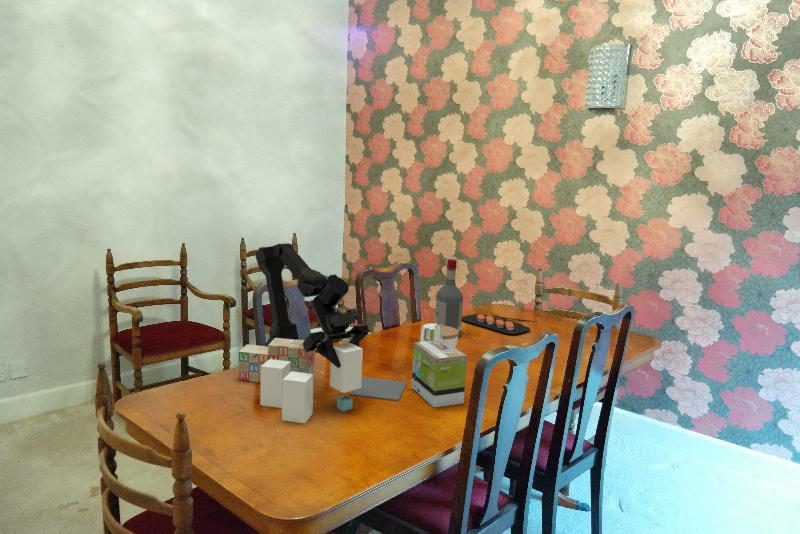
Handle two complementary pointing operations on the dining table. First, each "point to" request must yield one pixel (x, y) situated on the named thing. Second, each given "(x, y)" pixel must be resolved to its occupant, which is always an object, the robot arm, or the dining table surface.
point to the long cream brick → (273, 382)
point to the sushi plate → (497, 323)
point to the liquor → (449, 300)
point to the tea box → (439, 373)
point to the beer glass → (431, 332)
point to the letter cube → (344, 403)
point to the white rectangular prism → (347, 368)
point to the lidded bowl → (450, 335)
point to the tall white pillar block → (297, 397)
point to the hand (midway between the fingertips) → (349, 364)
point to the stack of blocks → (274, 358)
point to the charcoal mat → (380, 389)
